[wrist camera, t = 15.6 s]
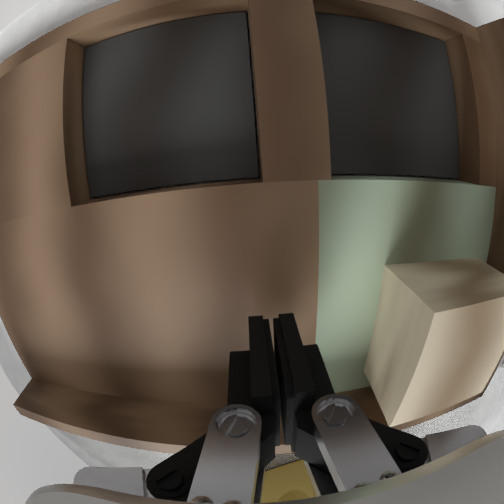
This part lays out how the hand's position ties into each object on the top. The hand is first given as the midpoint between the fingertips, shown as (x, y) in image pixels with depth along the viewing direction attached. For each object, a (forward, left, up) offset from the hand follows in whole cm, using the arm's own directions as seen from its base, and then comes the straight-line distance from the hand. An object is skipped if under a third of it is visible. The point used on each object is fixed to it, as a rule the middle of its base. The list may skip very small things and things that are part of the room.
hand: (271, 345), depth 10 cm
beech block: (-8, +1, -2) cm, 8 cm away
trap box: (+2, -5, -4) cm, 6 cm away
